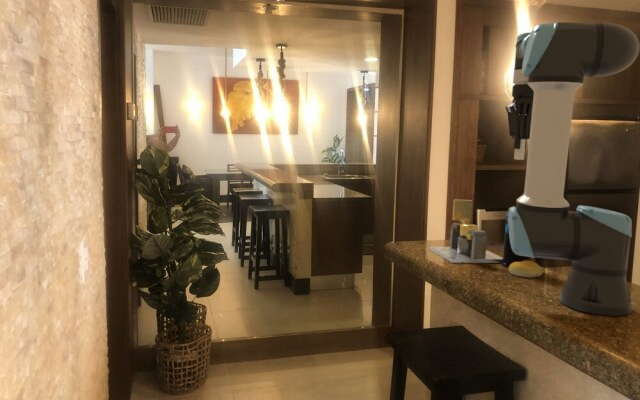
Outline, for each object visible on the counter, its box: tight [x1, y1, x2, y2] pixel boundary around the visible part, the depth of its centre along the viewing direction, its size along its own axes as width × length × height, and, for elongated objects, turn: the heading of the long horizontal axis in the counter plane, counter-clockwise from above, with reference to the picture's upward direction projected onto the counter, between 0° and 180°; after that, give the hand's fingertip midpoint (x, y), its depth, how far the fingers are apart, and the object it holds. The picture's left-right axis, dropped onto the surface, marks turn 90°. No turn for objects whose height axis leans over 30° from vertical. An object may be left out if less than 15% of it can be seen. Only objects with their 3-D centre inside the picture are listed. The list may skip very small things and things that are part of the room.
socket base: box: [429, 222, 503, 264], centre depth 174 cm, size 18×18×10 cm
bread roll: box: [507, 260, 543, 278], centre depth 155 cm, size 8×9×4 cm
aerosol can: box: [501, 211, 531, 268], centre depth 163 cm, size 8×8×20 cm
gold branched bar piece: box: [452, 199, 478, 240], centre depth 176 cm, size 6×18×11 cm, turn 178°
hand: (518, 159), depth 171 cm, fingers closed
